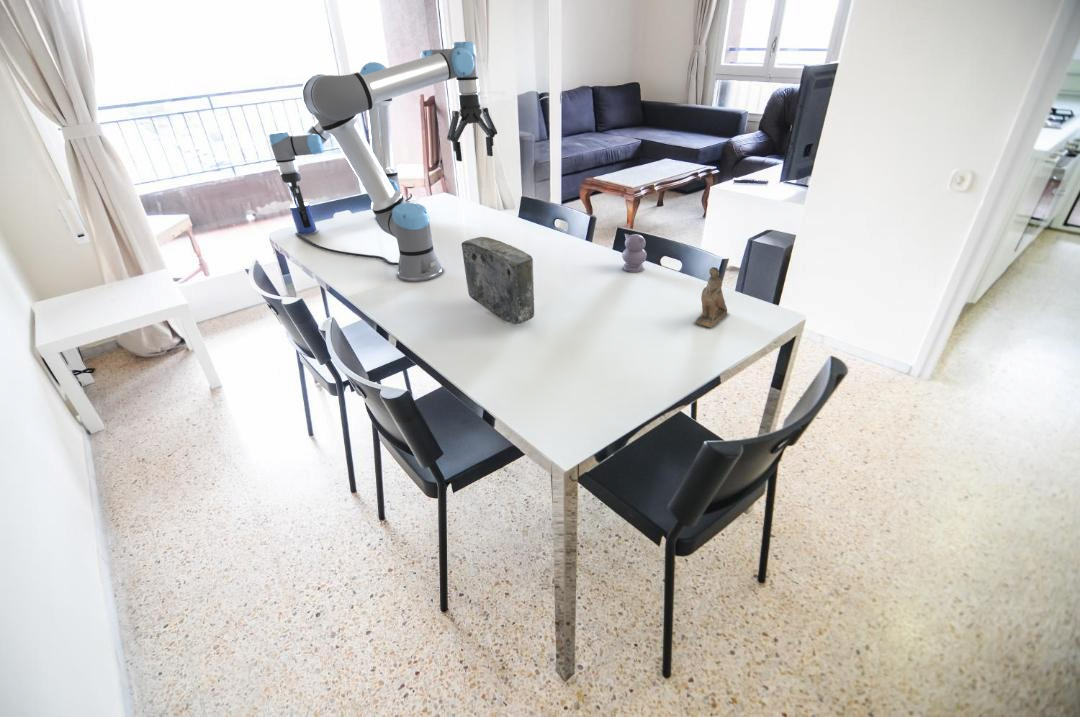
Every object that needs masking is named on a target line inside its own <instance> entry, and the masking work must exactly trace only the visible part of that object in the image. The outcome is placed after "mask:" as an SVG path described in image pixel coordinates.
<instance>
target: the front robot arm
mask: <svg viewBox="0 0 1080 717" xmlns="http://www.w3.org/2000/svg"><path fill="white" fill-rule="evenodd" d="M419 55H420V56H419V58H418V59H417V58H416V59H414V60H411V61H407V62H404V63H400V64H397V65H394V66H389V67H386V69H383V70H379V71H376V72H373V73H369V74H366V75H362V74H360V72H355V73H350V74H343V75H335V74H334V75H333V74H327V75H326V74H322V73H321V74H319V73H318V74H316V75H312V76H311V77H309V78H307V79H306V80H305V82H304V83H303V85H302V88H301V99H302V102H303V105H304V107H305V108H306V110H307V111H308V112H309V113H310V114H311V115H312V116H314V118H315V119H316V120H317V121H318V122H319V124H320V126H321V127H322V129H323V130H324V131H325V132H327V133H330V134H332V136H331V137H333V139H334V141H335V143H336V144H337V146H338V147H339V149H340V151H341V153H342V154H343V156H344V157H345V159H346V161H347V163H348V164H349V165H350V167H351V169H352V170H353V172H354V174H355V175H356V177H357V178H358V180H359V182H360V184H361V185H362V187H363V189H364V191H365V192H366V193H367V195H368V197H369V198H370V200H371V205H370V208H371V210H372V212H373V214H374V217H375V221H376V224H377V225H378V226H379V229H381V230H382V231H383V232H385V233H386V234H388V235H390V236H392V237H394V238H396V241H397V247H398V251H399V259H398V262H395V261H394V262H393V261H389V260H388V259H387V258H386V257H384V256H380V255H376V254H375V255H374V254H364V253H355V252H350V251H349V252H348V251H343V250H337V249H332V248H328V247H324V246H321V245H319V244H317V243H315V242H313V241H311V240H309V239H308V238H306V237H305V236H303V234H299V233H298V232H295V235H296V236H298V237H299V238H300V239H302V240H304V242H307V243H308V244H309V245H311V246H314V247H315V248H318V249H320V250H324V251H327V252H331V253H336V254H340V255H347V256H354V257H361V258H370V259H379V260H382V261H384V262H385V263H386V264H388V265H391V266H397V276H398V278H399V279H400V280H402V281H406V282H413V283H414V282H425V281H429V280H432V279H435V278H438V277H439V276H440V275H441V274H442V273H443V268H442V264H441V263H440V260H439V259H438V256H437V254H436V252H435V250H434V243H433V236H432V230H431V229H432V228H431V222H430V215H429V212H428V209H427V208H426V207H425V206H424V205H423V204H420V203H414V202H407V201H405V200H406V199H405V197H404V195H403V194H402V192H401V191H400V192H399V191H395V190H394V188H393V187H392V185H391V183H390V181H389V180H388V178H387V176H386V174H385V172H384V171H383V169H382V167H381V165H380V164H379V162H378V160H377V158H376V156H375V155H374V153H373V151H372V149H371V145H370V144H369V142H368V141H367V139H366V137H365V135H364V133H363V131H362V130H361V128H360V126H359V124H358V122H357V119H358V115H359V114H361V113H364V112H368V110H370V109H372V108H373V106H374V104H375V103H378V102H381V101H384V100H387V99H391V98H392V99H395V98H396V97H400V96H402V95H406V94H408V93H412V92H414V91H418V90H420V89H424V88H427V87H430V86H434V85H436V84H440V83H442V82H445V81H449V80H452V79H456V86H457V93H458V97H457V98H458V99H457V100H458V107H459V110H452V112H451V117H452V118H451V121H450V125H449V129H448V132H447V136H446V139H447V141H450V142H452V150H453V152H454V153H455V159H456V161H457V162H463V156H462V148H461V141H459V139H460V138H461V136H462V134H463V132H464V130H465V128H466V126H468V125H469V124H470V125H471V124H478V126H479V128H481V130H482V131H483V132H484V133H485V134H486V136H485V146H486V155H487V156H488V157H493V156H494V152H493V146H494V137H495V136H496V135H498V130H497V128H496V125H495V124H494V122H493V120H492V118H491V115H490V112H489V108H488V107H482V108H481V95H480V94H479V93H480V84H479V74H478V71H479V70H478V60H477V59H478V56H477V50H476V45H475V43H474V42H473V41H454V42H453V43H452V48H441V49H431V48H430V49H423V50H422V51H421V53H420V54H419ZM481 115H482V117H483V118H482V117H481ZM460 117H461V119H459V118H460ZM317 121H316V122H317ZM484 121H485V122H484Z"/></svg>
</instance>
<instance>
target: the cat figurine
mask: <svg viewBox="0 0 1080 717" xmlns="http://www.w3.org/2000/svg"><path fill="white" fill-rule="evenodd" d="M624 237H625V241H624V246H625V249H624V250H623V251H622V253H621V254H622V255H621V257H622V260H623V261H624V262H625V263H624V264H623V270H624V271H626V272H631V273H639V272H641V271H642V270H643V266H644V265H643V263H645V262H646V260H647V257H648V254H647V251H646V250H645V247H646V239H645V238H644V237H643V236H642V235H640V234H637V233H635V234H628V233H624Z"/></svg>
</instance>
